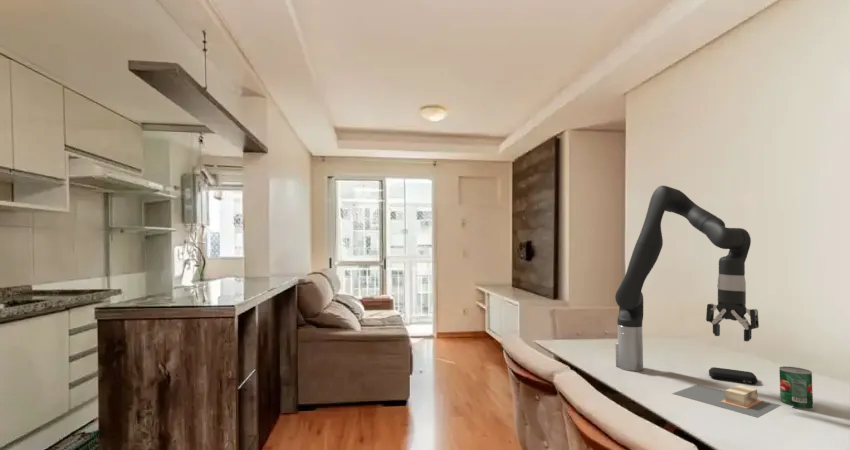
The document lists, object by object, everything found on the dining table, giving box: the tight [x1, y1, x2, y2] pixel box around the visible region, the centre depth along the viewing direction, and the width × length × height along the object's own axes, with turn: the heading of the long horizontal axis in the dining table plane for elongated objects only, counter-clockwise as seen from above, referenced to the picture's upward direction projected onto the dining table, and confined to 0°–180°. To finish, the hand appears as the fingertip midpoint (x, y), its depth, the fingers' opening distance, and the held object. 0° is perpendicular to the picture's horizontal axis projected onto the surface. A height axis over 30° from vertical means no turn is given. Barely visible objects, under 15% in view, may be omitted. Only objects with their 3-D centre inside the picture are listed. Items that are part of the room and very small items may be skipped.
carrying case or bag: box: [708, 366, 759, 385], centre depth 163 cm, size 11×3×15 cm
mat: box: [671, 383, 782, 419], centre depth 140 cm, size 24×18×1 cm
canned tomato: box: [778, 366, 814, 411], centre depth 136 cm, size 8×8×11 cm
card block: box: [724, 384, 758, 407], centre depth 138 cm, size 10×5×4 cm, turn 124°
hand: (731, 338), depth 142 cm, fingers open, 8 cm apart
